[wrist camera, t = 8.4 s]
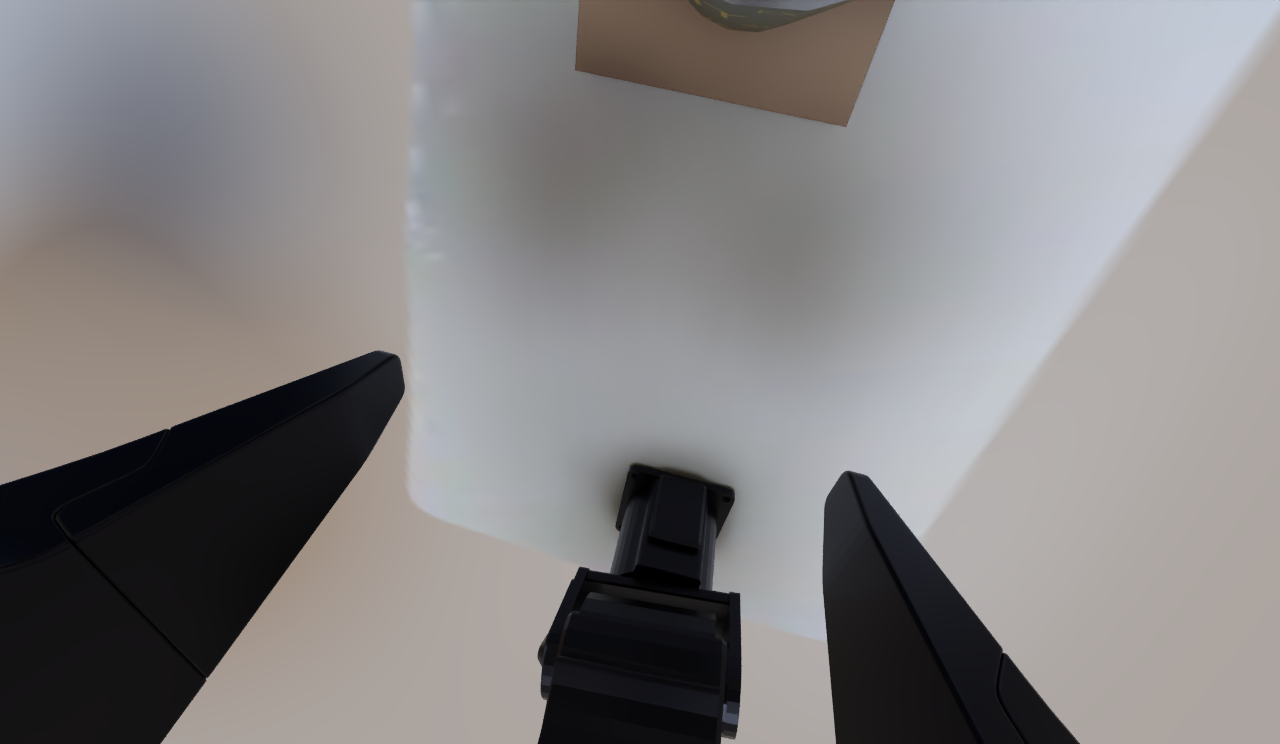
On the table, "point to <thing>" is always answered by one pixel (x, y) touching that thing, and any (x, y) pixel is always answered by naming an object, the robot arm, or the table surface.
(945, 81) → the table surface
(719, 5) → the beer can
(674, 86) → the brown square coaster
